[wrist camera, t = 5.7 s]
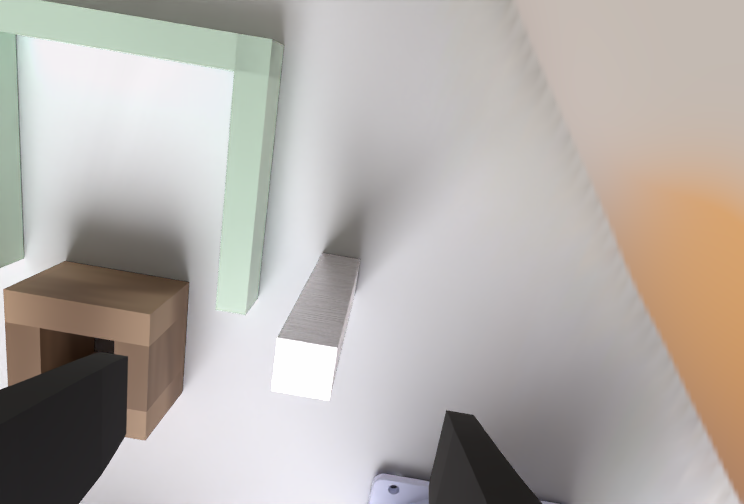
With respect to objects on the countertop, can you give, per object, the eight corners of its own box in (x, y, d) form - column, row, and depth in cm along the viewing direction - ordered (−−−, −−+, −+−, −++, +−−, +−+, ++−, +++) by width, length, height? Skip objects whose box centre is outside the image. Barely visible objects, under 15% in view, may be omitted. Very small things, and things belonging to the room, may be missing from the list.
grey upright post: (360, 259, 21) (337, 347, 13) (354, 294, 21) (329, 400, 14) (322, 252, 21) (277, 337, 13) (317, 288, 21) (271, 390, 14)
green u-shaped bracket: (284, 45, 19) (272, 39, 17) (257, 298, 22) (245, 315, 20) (-18, -6, 19) (-60, -17, 17) (-4, 253, 22) (-39, 266, 20)
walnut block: (189, 282, 22) (150, 314, 18) (182, 391, 23) (145, 440, 20) (65, 261, 22) (3, 289, 18) (66, 372, 23) (9, 416, 20)
